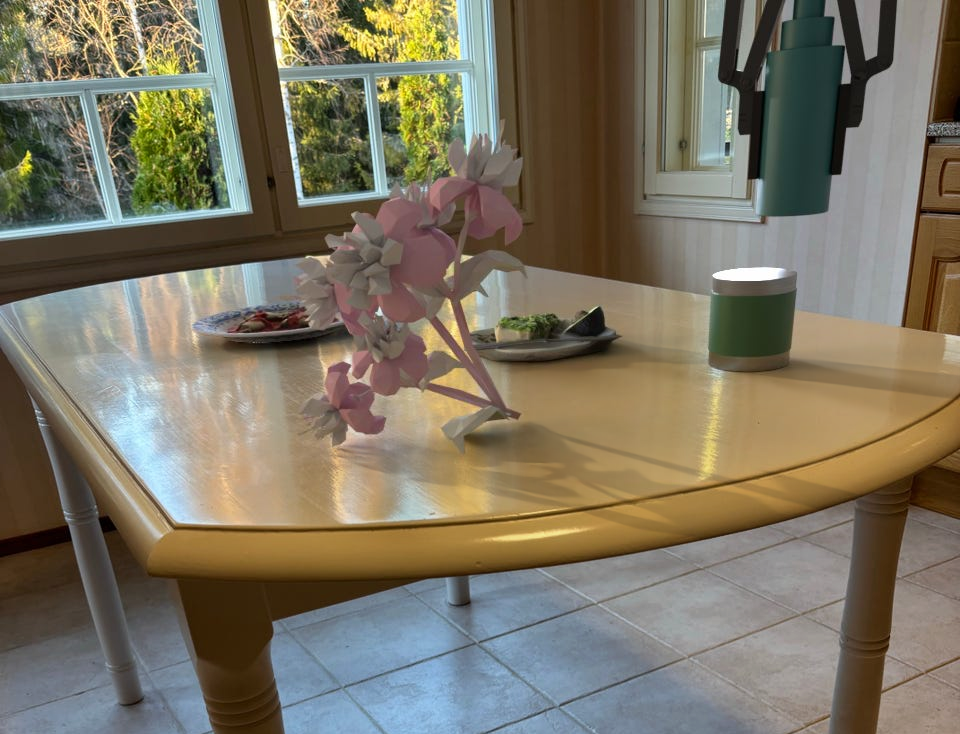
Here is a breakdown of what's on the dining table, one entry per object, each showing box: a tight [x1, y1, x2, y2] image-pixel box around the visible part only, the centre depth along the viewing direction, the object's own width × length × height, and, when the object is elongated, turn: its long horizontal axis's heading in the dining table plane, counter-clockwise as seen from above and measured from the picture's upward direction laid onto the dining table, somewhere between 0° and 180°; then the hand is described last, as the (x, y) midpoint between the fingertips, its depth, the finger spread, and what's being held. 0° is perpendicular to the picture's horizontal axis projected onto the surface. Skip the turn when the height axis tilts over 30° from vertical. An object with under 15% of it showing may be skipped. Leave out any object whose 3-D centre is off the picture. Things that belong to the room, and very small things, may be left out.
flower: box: [277, 118, 528, 455], centre depth 79 cm, size 20×22×25 cm
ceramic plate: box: [190, 300, 346, 344], centre depth 134 cm, size 26×26×3 cm
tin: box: [707, 267, 798, 373], centre depth 98 cm, size 9×9×9 cm
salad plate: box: [461, 305, 623, 362], centre depth 111 cm, size 19×18×5 cm
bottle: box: [755, 0, 846, 218], centre depth 76 cm, size 6×6×19 cm
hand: (794, 175), depth 79 cm, fingers closed on bottle, 6 cm apart
